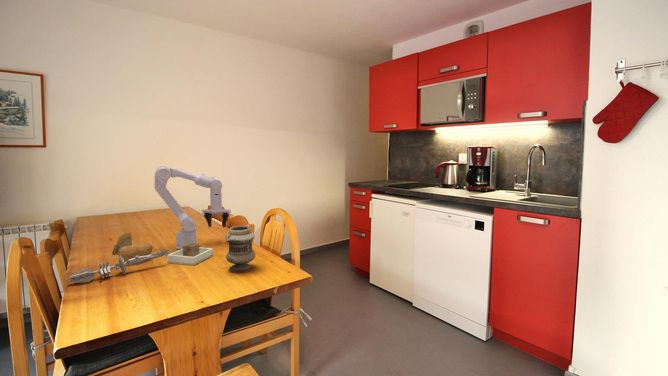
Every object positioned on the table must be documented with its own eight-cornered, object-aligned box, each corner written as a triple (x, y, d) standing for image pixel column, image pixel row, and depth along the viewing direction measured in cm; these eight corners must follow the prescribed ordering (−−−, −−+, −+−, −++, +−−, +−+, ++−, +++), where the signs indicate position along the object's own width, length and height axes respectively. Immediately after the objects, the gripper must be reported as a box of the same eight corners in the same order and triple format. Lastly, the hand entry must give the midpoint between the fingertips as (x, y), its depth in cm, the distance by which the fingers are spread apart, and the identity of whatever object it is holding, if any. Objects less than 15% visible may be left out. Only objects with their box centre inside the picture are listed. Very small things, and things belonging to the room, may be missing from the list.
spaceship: (171, 249, 140) (165, 239, 145) (68, 278, 117) (65, 265, 122) (172, 263, 143) (166, 253, 148) (71, 294, 121) (68, 281, 126)
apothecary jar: (225, 275, 132) (224, 231, 130) (227, 265, 143) (225, 225, 141) (256, 272, 135) (255, 230, 133) (255, 262, 146) (254, 223, 144)
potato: (157, 259, 150) (156, 242, 149) (123, 268, 140) (121, 249, 139) (148, 255, 157) (147, 239, 156) (115, 263, 146) (113, 245, 145)
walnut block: (183, 258, 149) (182, 245, 149) (190, 255, 154) (189, 242, 154) (192, 259, 148) (191, 246, 148) (199, 256, 153) (198, 243, 152)
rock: (113, 252, 154) (135, 245, 161) (107, 237, 156) (130, 231, 163) (112, 260, 162) (134, 253, 168) (107, 245, 164) (129, 239, 170)
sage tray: (167, 262, 146) (167, 255, 146) (188, 253, 160) (188, 246, 159) (194, 265, 143) (193, 257, 142) (213, 255, 156) (213, 248, 156)
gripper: (199, 203, 169) (200, 228, 171) (227, 203, 169) (228, 228, 171) (204, 200, 176) (205, 225, 178) (231, 200, 176) (232, 225, 178)
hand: (217, 226), depth 175 cm, fingers open, 7 cm apart
